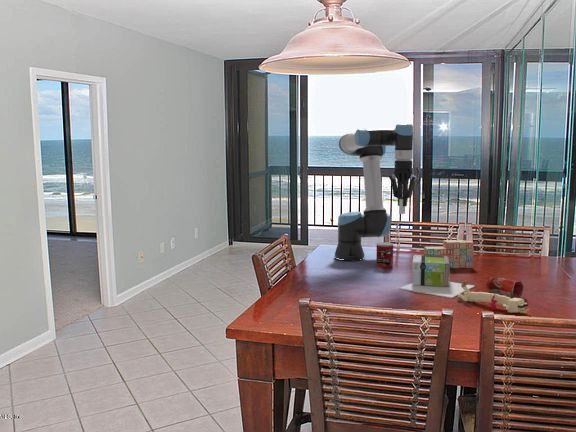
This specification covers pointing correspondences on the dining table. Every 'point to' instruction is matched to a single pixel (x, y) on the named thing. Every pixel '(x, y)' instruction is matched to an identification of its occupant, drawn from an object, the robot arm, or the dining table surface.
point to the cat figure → (494, 299)
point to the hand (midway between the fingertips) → (402, 213)
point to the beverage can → (505, 287)
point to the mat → (438, 289)
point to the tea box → (430, 270)
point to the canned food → (384, 255)
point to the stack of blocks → (454, 252)
